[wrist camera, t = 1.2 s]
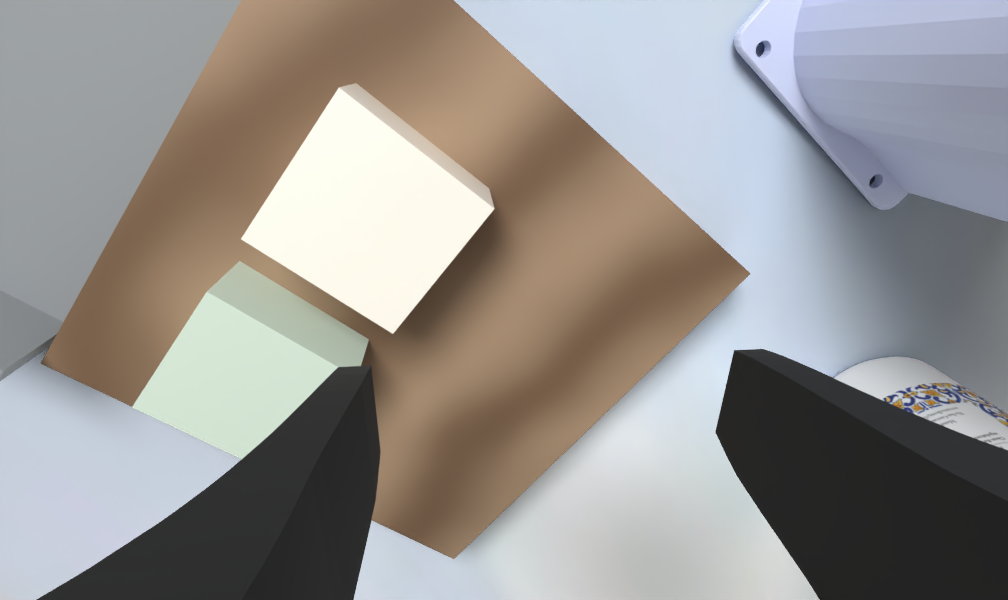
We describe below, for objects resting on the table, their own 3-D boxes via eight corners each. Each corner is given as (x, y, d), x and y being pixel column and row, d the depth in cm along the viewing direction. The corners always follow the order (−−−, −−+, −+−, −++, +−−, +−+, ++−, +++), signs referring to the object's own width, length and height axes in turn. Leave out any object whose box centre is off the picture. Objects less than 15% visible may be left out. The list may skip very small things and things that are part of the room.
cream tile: (489, 188, 17) (494, 208, 14) (400, 299, 18) (393, 334, 16) (356, 83, 15) (338, 87, 13) (270, 214, 16) (240, 239, 14)
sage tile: (369, 339, 19) (357, 377, 16) (297, 429, 20) (277, 476, 18) (239, 261, 17) (206, 291, 15) (171, 364, 18) (132, 407, 16)
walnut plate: (724, 255, 21) (750, 273, 19) (453, 524, 26) (453, 558, 24) (330, -106, 15) (312, -130, 13) (78, 335, 20) (40, 363, 18)
